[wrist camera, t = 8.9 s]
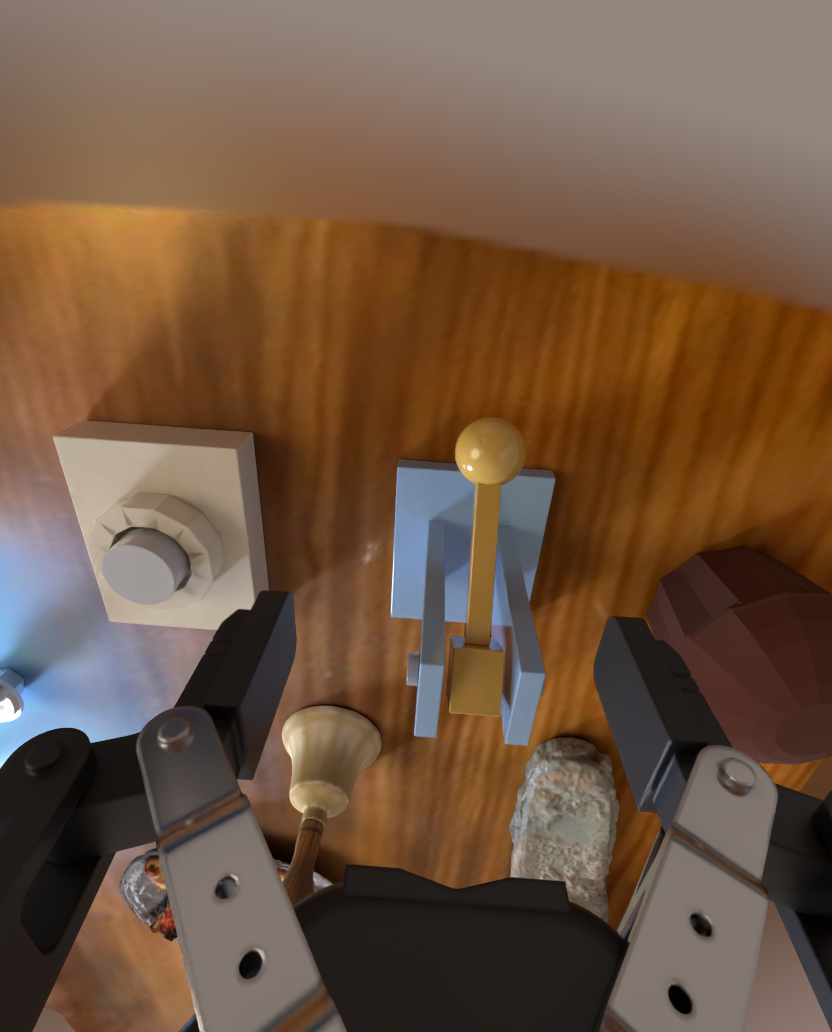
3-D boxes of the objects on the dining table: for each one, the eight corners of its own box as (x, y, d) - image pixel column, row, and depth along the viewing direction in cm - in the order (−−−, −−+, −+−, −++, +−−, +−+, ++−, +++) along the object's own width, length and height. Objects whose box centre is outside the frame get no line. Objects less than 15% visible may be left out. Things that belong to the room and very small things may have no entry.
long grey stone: (629, 717, 41) (504, 714, 42) (648, 775, 36) (507, 770, 38) (599, 946, 56) (508, 939, 57) (610, 1009, 51) (511, 999, 53)
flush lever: (455, 422, 25) (460, 406, 21) (521, 426, 24) (535, 411, 21) (435, 691, 24) (437, 715, 21) (502, 696, 24) (514, 722, 21)
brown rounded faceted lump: (798, 655, 35) (914, 793, 27) (633, 676, 37) (691, 812, 28) (821, 508, 30) (977, 622, 21) (627, 541, 32) (696, 658, 23)
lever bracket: (398, 458, 30) (371, 593, 18) (552, 469, 29) (618, 612, 18) (392, 605, 35) (367, 779, 24) (522, 616, 35) (558, 795, 24)
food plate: (120, 908, 59) (102, 945, 56) (143, 799, 48) (122, 838, 45) (325, 956, 62) (319, 994, 59) (390, 865, 51) (387, 905, 48)
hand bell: (347, 781, 45) (304, 1028, 31) (265, 742, 43) (178, 987, 29) (401, 733, 41) (379, 987, 27) (314, 688, 39) (242, 937, 25)
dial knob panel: (83, 419, 29) (27, 447, 26) (253, 431, 29) (223, 462, 25) (131, 596, 36) (92, 641, 32) (271, 607, 36) (250, 653, 32)
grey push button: (111, 525, 28) (92, 542, 26) (183, 530, 28) (167, 547, 26) (127, 583, 30) (110, 602, 28) (194, 588, 30) (180, 607, 28)
